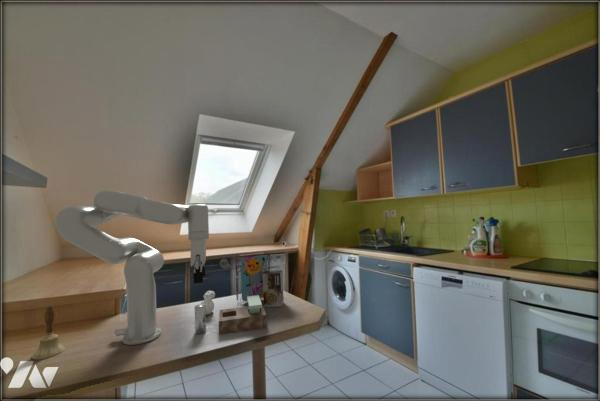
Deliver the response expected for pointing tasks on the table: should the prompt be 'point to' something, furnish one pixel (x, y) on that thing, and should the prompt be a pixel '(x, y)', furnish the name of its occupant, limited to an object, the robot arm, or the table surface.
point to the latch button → (254, 304)
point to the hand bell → (49, 339)
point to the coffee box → (273, 288)
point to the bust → (209, 301)
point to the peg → (200, 319)
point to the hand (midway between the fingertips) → (199, 279)
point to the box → (250, 274)
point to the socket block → (240, 320)
